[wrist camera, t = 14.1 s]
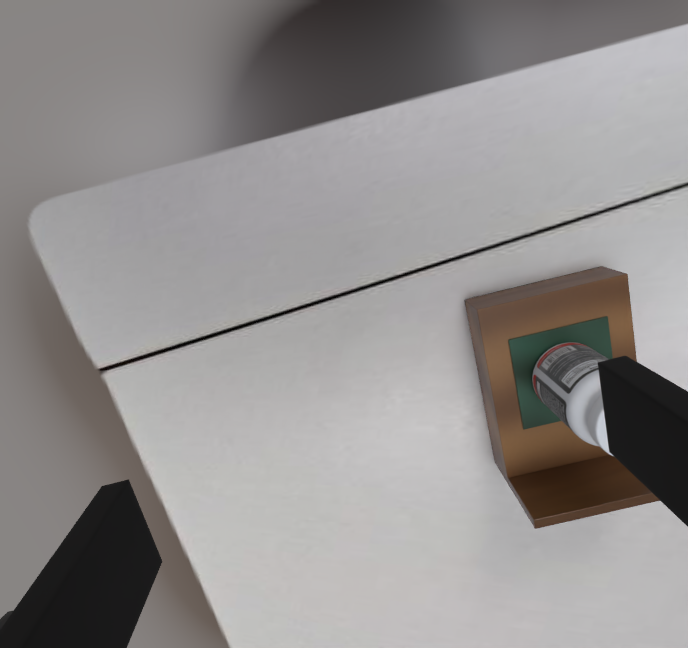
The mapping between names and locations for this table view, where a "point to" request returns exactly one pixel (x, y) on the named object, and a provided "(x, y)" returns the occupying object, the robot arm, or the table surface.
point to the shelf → (531, 413)
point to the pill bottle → (573, 390)
